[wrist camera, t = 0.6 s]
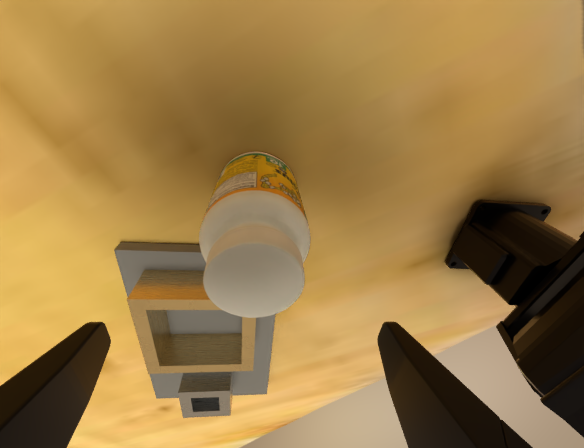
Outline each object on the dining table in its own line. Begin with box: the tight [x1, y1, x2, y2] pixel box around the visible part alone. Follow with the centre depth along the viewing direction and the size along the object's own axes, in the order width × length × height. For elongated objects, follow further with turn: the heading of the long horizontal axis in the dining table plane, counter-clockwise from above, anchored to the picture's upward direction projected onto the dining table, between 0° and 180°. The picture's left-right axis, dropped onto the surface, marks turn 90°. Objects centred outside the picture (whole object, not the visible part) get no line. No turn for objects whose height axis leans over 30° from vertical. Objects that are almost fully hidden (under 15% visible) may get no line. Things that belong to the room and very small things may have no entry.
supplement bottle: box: [199, 151, 310, 318], centre depth 14 cm, size 5×5×10 cm
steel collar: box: [178, 371, 233, 418], centre depth 26 cm, size 4×4×3 cm
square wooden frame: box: [127, 270, 256, 374], centre depth 21 cm, size 8×8×3 cm
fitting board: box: [114, 242, 275, 398], centre depth 25 cm, size 12×20×1 cm, turn 174°
